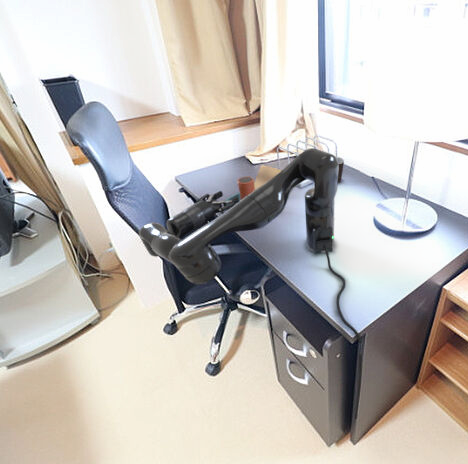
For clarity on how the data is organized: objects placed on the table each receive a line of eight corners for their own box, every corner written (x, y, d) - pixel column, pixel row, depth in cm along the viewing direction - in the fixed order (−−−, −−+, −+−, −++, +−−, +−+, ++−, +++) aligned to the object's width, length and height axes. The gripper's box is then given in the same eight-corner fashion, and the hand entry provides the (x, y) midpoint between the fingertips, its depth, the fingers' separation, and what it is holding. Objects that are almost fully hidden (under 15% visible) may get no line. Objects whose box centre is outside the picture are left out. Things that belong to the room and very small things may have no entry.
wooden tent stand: (272, 198, 136) (270, 177, 131) (251, 191, 141) (248, 171, 136) (285, 189, 143) (284, 169, 137) (265, 183, 148) (262, 164, 142)
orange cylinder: (255, 210, 133) (239, 201, 123) (244, 206, 136) (227, 197, 126) (266, 184, 134) (250, 174, 124) (254, 181, 137) (238, 170, 127)
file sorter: (315, 161, 168) (314, 132, 159) (339, 171, 157) (340, 140, 148) (277, 176, 154) (274, 145, 145) (300, 188, 144) (299, 155, 135)
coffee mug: (346, 179, 150) (347, 159, 144) (337, 186, 144) (338, 165, 138) (325, 173, 155) (325, 154, 149) (316, 180, 149) (315, 160, 143)
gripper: (185, 218, 116) (218, 199, 127) (213, 230, 110) (245, 209, 121) (180, 200, 112) (214, 182, 123) (208, 211, 106) (242, 191, 117)
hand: (229, 195), depth 122 cm, fingers open, 8 cm apart
